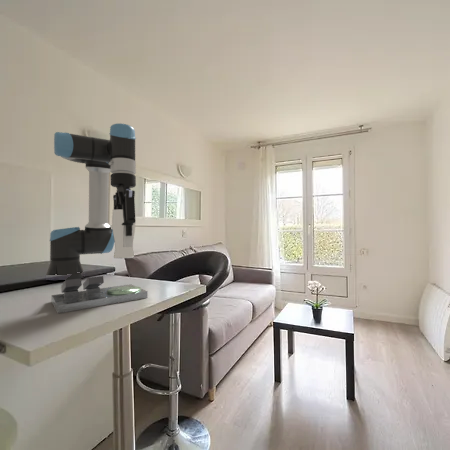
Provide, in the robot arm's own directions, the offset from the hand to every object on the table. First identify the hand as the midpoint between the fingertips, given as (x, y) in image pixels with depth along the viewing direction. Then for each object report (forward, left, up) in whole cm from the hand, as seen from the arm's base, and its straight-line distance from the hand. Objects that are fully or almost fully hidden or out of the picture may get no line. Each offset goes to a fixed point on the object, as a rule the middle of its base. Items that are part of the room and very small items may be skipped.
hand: (124, 246), depth 84 cm
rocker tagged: (-5, -14, -11) cm, 19 cm away
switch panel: (-3, -6, -16) cm, 18 cm away
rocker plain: (-5, -8, -11) cm, 15 cm away
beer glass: (0, 0, -4) cm, 4 cm away
